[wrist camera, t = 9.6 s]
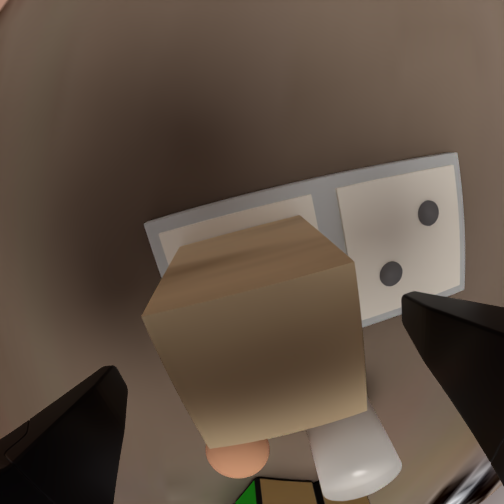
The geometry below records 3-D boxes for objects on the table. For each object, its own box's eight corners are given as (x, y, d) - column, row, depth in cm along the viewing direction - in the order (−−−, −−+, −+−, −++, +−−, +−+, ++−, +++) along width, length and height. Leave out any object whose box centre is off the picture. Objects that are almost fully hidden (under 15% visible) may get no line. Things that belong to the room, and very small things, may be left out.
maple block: (320, 320, 14) (367, 410, 8) (215, 347, 14) (209, 448, 8) (299, 215, 13) (354, 261, 7) (179, 246, 13) (141, 316, 7)
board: (450, 152, 13) (460, 152, 12) (458, 285, 15) (467, 291, 14) (147, 221, 13) (141, 225, 12) (198, 362, 15) (197, 372, 14)
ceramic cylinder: (363, 371, 16) (405, 446, 10) (365, 414, 17) (398, 483, 12) (296, 391, 16) (318, 475, 11) (306, 432, 17) (325, 507, 12)
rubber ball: (259, 402, 16) (264, 450, 13) (271, 439, 17) (278, 483, 14) (198, 413, 16) (193, 460, 13) (217, 448, 17) (216, 491, 14)
